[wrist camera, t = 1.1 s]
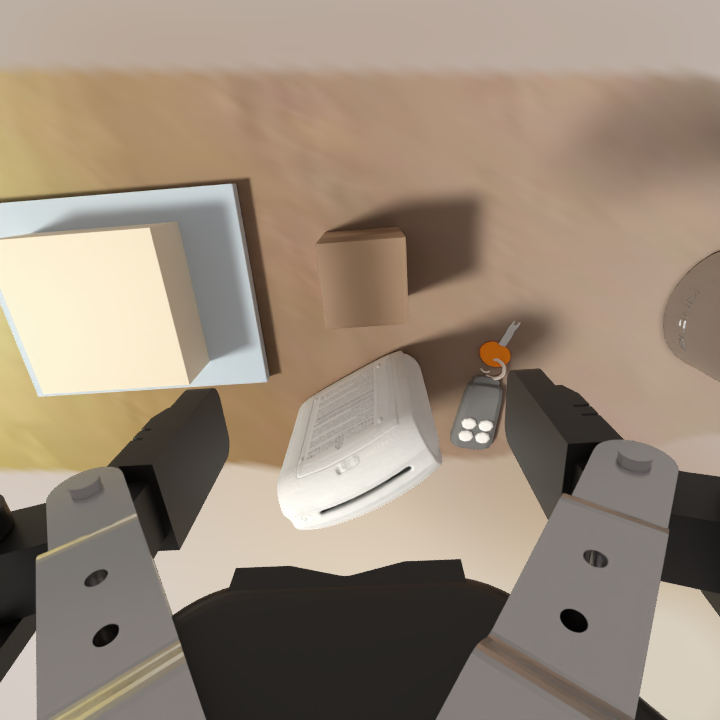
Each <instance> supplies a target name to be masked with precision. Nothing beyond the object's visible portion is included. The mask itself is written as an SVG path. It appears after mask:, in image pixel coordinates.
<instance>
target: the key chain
mask: <svg viewBox="0 0 720 720" xmlns="http://www.w3.org/2000/svg"><path fill="white" fill-rule="evenodd" d="M514 323H515V321H514V322H513V323H512V324H511V326H509V327H508V329H507V330H506V333H505V334H504V336H503V337H502V339H501V340H500V342H499V343H497V342H494V341H489V342H487V343H484V344H483V345H482V346H481V348H480V351H479V352H480V357H481V359H482V360H483V362H485V363H486V364H487V365H489V366H493V367H501V366H502V370H503V371H502V373H501V375H499V376H497V377H492V376H489V375H486V376H481V375H479V376H476V377H474V378H473V382H470V383H468V385H467V387H466V389H465V391H464V394H463V397H462V400H461V403H460V406H459V409H458V412H457V415H456V418H455V421H454V424H453V427H452V430H451V438H450V440H451V443H452V444H454V445H455V446H458V447H461V448H468V449H477V450H482V449H486V448H489V447H490V445H491V443H492V442H493V438H494V434H495V429H496V425H497V420H498V416H499V411H500V406H501V402H502V389H501V387H500V386H499V384H500V382H499V379H501V378H503V377H504V376H505V373H506V366H505V365H506V364H507V363H508V362H509V360H510V357H511V355H510V351H509V350H508V348H507V347H506V345H507V344H508V342H509V341H510V339H511V338H512V336H513V333H514V332H515V330H516V329H517V328H518V327H519V325H520V324H521V323H520V322H518V324H517V325H513V324H514ZM480 370H481V371H482V372H484V373H489V372H490V371H484V370H483V369H482V368H480Z"/></svg>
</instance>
